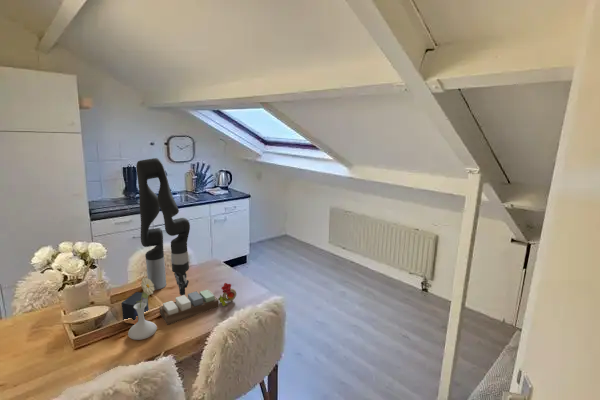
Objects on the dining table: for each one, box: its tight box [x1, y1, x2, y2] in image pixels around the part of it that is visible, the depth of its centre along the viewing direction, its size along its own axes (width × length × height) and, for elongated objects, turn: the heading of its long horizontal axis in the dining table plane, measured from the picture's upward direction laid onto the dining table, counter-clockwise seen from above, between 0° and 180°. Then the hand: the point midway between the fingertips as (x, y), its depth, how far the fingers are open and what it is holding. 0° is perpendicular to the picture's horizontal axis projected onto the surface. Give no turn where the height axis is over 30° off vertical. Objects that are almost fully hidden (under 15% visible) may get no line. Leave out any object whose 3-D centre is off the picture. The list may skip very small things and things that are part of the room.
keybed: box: [159, 296, 220, 326], centre depth 163 cm, size 11×25×4 cm, turn 129°
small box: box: [121, 291, 150, 321], centre depth 156 cm, size 11×6×10 cm, turn 168°
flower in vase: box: [127, 277, 158, 341], centre depth 143 cm, size 13×11×25 cm
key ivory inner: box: [175, 294, 191, 311], centre depth 161 cm, size 8×4×4 cm, turn 39°
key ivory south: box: [162, 300, 178, 316], centre depth 157 cm, size 8×4×4 cm, turn 39°
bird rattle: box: [217, 282, 237, 307], centre depth 170 cm, size 6×11×9 cm
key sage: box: [199, 289, 216, 303], centre depth 168 cm, size 8×4×4 cm, turn 39°
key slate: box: [187, 291, 203, 307], centre depth 164 cm, size 8×4×4 cm, turn 39°
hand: (182, 294), depth 159 cm, fingers closed
